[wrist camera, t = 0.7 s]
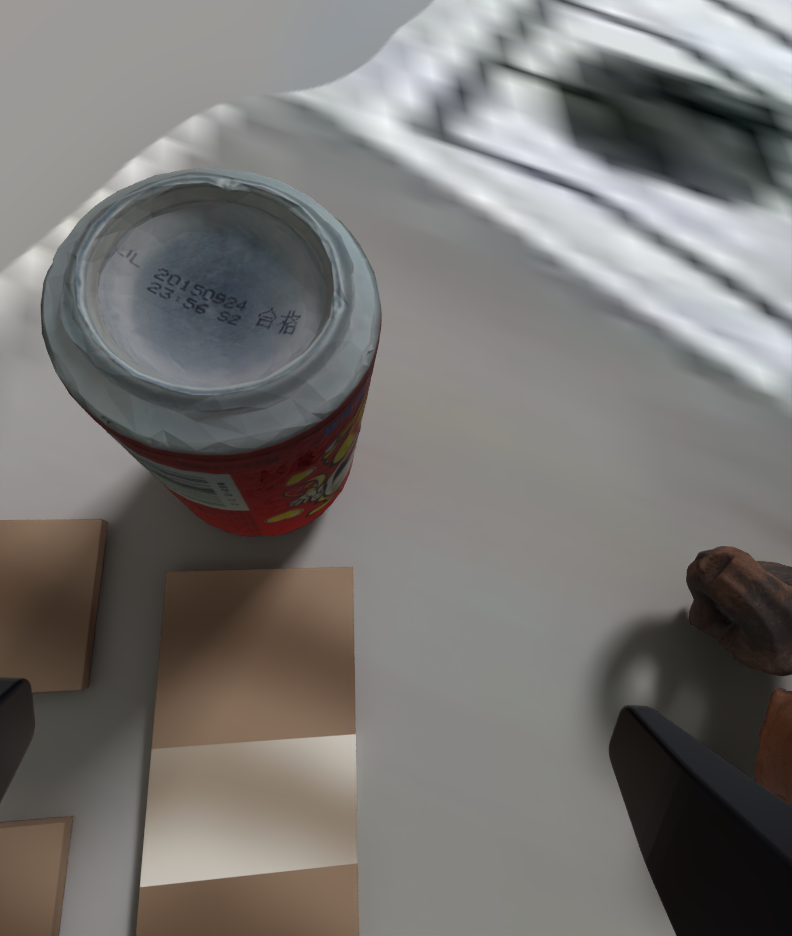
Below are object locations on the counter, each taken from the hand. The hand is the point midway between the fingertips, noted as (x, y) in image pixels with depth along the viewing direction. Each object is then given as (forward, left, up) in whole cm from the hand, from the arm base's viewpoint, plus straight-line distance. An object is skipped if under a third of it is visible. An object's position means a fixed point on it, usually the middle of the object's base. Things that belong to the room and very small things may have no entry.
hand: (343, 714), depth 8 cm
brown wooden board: (-5, 0, -13) cm, 14 cm away
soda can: (+6, +6, -13) cm, 16 cm away
